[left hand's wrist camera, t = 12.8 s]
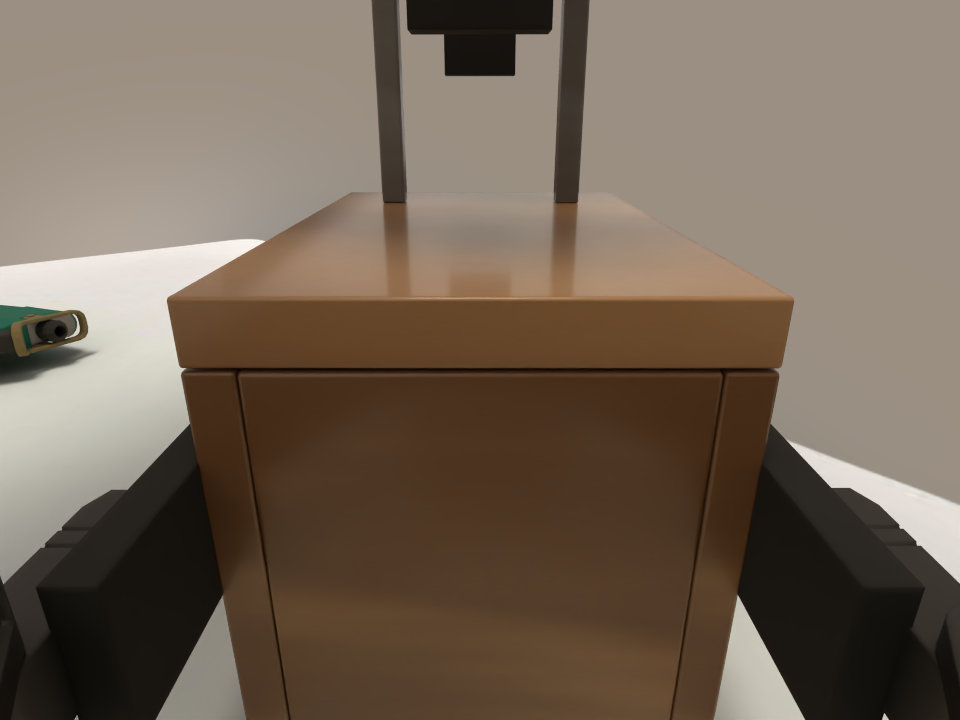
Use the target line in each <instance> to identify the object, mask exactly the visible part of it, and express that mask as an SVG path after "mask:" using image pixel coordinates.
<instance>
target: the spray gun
mask: <svg viewBox="0 0 960 720" xmlns="http://www.w3.org/2000/svg"><path fill="white" fill-rule="evenodd" d="M72 314H75V315H76V316H77V318H78V321H79V325H80V332H79V334H78V335H76V336H75V337H71V338H67V339H65V338H66V337H69V336H71V335H73V334H74V332H75V331H76V328H77V321H76V319H75V317H74V316H73V315H72ZM87 333H88V325H87V320H86V317H85V315H84V314H83V313H82V312H80V311H77V310H67V311H56V310H48V309H41V308H34V307H15V306H5V305H0V354H4V353H14V351H16V353H17V355H18V356H19V357H21V356H28V355H29V354H31V353H34V352H38V351H42V350H45V349H49V348H53V347H56V346H60V345H64V344H67V343H71V342H75V341H79V340H81V339H83V338H85V337H86V335H87ZM49 341H51V342H52V343H51V342H49Z"/></svg>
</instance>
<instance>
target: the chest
mask: <svg viewBox="0 0 960 720" xmlns="http://www.w3.org/2000/svg"><path fill="white" fill-rule="evenodd" d="M181 378H182V383H183V388H184V394H185V399H186V404H187V409H188V415H189V420H190V425H191V430H192V436H193V441H194V446H195V452H196V457H197V462H198V466H199V471H200V476H201V481H202V487H203V492H204V497H205V502H206V508H207V513H208V518H209V523H210V529H211V534H212V539H213V544H214V550H215V555H216V560H217V566H218V571H219V576H220V581H221V587H222V592H223V599H224V604H225V610H226V615H227V620H228V625H229V631H230V636H231V641H232V646H233V652H234V657H235V662H236V667H237V673H238V678H239V683H240V689H241V694H242V699H243V704H244V710H245V715H246V720H714V716H715V711H716V706H717V700H718V695H719V690H720V685H721V680H722V674H723V669H724V664H725V659H726V653H727V648H728V643H729V638H730V632H731V627H732V622H733V617H734V611H735V606H736V601H737V596H738V590H739V585H740V579H741V574H742V569H743V564H744V558H745V553H746V548H747V543H748V537H749V532H750V527H751V522H752V516H753V511H754V506H755V501H756V495H757V490H758V485H759V480H760V474H761V469H762V464H763V460H764V455H765V449H766V444H767V439H768V434H769V428H770V423H771V418H772V412H773V407H774V402H775V397H776V392H777V386H778V381H779V373H778V372H777V371H776V370H775V369H774V368H186V369H185V370H184V371H183V372H182V374H181Z"/></svg>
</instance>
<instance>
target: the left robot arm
mask: <svg viewBox="0 0 960 720" xmlns="http://www.w3.org/2000/svg"><path fill="white" fill-rule="evenodd" d="M222 595H223V592H222V587H221V581H220V576H219V571H218V566H217V560H216V555H215V550H214V544H213V539H212V534H211V529H210V523H209V518H208V513H207V508H206V502H205V497H204V492H203V487H202V481H201V476H200V471H199V466H198V462H197V457H196V452H195V446H194V441H193V436H192V430H191V425H190V424H189V426H188V427H187V428H186V429H185V430H184V431H183V432H182V433H181V434H180V435H179V436H178V437H177V438H176V439H175V440H174V441H173V442H172V444H171V445H170V446H169V447H168V448H167V449H166V450H165V451H164V452H163V453H162V454H161V455H160V456H159V457H158V458H157V459H156V460H155V462H154V463H153V464H152V465H151V466H150V467H149V468H148V469H147V470H146V471H145V472H144V473H143V474H142V475H141V476H140V477H139V478H138V480H137V481H136V482H135V483H134V484H133V485H132V486H131V487H130V488H129V489H128V490H111V491H109V492H107V493H105V494H104V495H102V496H100V497H99V498H97V499H95V500H94V501H92V502H90V503H88V504H87V505H85V506H83V507H82V508H81V509H80V510H79V511H78V512H77V513H76V514H75V515H74V516H73V517H72V518H71V519H70V520H69V521H68V522H67V523H66V524H65V525H64V526H63V527H62V531H58V532H57V533H55V534H54V535H53V536H52V537H51V538H50V539H49V540H48V541H47V542H46V543H45V548H40V549H39V550H38V551H37V552H36V553H35V554H34V555H33V556H32V557H31V558H30V559H29V560H28V561H27V562H26V563H25V564H24V565H23V566H22V567H21V568H20V569H19V570H18V571H17V572H16V573H15V574H14V575H13V576H12V577H11V578H10V579H9V580H8V581H7V582H6V583H5V584H3V583H2V580H1V577H0V720H74V719H75V717H76V716H77V715H78V718H79V720H156V718H157V716H158V714H159V712H160V710H161V708H162V707H163V705H164V703H165V701H166V699H167V697H168V695H169V694H170V692H171V690H172V688H173V686H174V684H175V682H176V681H177V679H178V677H179V675H180V673H181V671H182V669H183V668H184V666H185V664H186V662H187V660H188V658H189V656H190V655H191V653H192V651H193V649H194V647H195V645H196V643H197V642H198V640H199V638H200V636H201V634H202V632H203V630H204V629H205V627H206V625H207V623H208V621H209V619H210V617H211V616H212V614H213V612H214V610H215V608H216V606H217V604H218V603H219V601H220V599H221V597H222ZM738 596H739V598H740V599H741V601H742V603H743V605H744V607H745V609H746V611H747V612H748V614H749V616H750V618H751V620H752V622H753V624H754V625H755V627H756V629H757V631H758V633H759V635H760V637H761V638H762V640H763V642H764V644H765V646H766V648H767V650H768V651H769V653H770V655H771V657H772V659H773V661H774V663H775V664H776V666H777V668H778V670H779V672H780V674H781V676H782V677H783V679H784V681H785V683H786V685H787V687H788V689H789V690H790V692H791V694H792V696H793V698H794V700H795V702H796V703H797V705H798V707H799V709H800V711H801V713H802V715H803V716H804V718H805V720H882V718H883V715H884V713H885V714H886V716H887V717H888V719H889V720H960V584H959V583H958V582H957V581H956V580H955V579H954V578H953V577H952V576H951V575H950V574H949V573H948V572H947V571H946V570H945V569H944V568H943V567H942V566H941V565H940V564H939V563H938V562H937V561H936V560H935V559H934V558H933V557H932V556H931V555H930V554H929V553H928V552H927V551H926V550H925V549H924V548H922V547H921V546H917V544H916V541H915V540H914V539H913V538H912V537H911V536H910V535H909V534H908V533H907V532H906V531H905V530H904V529H900V528H899V524H898V523H897V522H896V521H895V520H894V519H893V518H892V517H891V516H890V515H889V514H888V513H887V512H886V511H884V510H883V509H882V508H881V507H880V506H879V505H878V504H876V503H875V502H873V501H871V500H869V499H868V498H866V497H864V496H863V495H861V494H859V493H857V492H856V491H854V490H852V489H851V488H831V487H830V486H829V485H828V484H827V483H826V482H825V481H824V480H823V479H822V478H821V477H820V476H819V474H818V473H817V472H816V471H815V470H814V469H813V468H812V467H811V466H810V465H809V464H808V463H807V462H806V461H805V460H804V459H803V458H802V457H801V455H800V454H799V453H798V452H797V451H796V450H795V449H794V448H793V447H792V446H791V445H790V444H789V443H788V442H787V441H786V440H785V439H784V437H783V436H782V435H781V434H780V433H779V432H778V431H777V430H776V429H775V428H774V427H773V426H772V425H771V424H770V428H769V434H768V439H767V444H766V449H765V455H764V460H763V464H762V469H761V474H760V480H759V485H758V490H757V495H756V501H755V506H754V511H753V516H752V522H751V527H750V532H749V537H748V543H747V548H746V553H745V558H744V564H743V569H742V574H741V579H740V585H739V590H738Z"/></svg>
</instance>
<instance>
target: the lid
mask: <svg viewBox="0 0 960 720" xmlns="http://www.w3.org/2000/svg"><path fill="white" fill-rule="evenodd" d="M372 15H373V34H374V51H375V70H376V88H377V105H378V124H379V142H380V160H381V178H382V193H350V194H348V195H346V196H344V197H343V198H341V199H339V200H337V201H336V202H334V203H332V204H331V205H329V206H327V207H325V208H323V209H322V210H320V211H318V212H316V213H315V214H313V215H311V216H309V217H308V218H306V219H304V220H303V221H301V222H299V223H297V224H296V225H294V226H292V227H290V228H289V229H287V230H285V231H283V232H281V233H280V234H278V235H276V236H275V237H273V238H271V239H269V240H268V241H266V242H264V243H262V244H261V245H259V246H257V247H255V248H254V249H252V250H250V251H248V252H247V253H245V254H243V255H241V256H240V257H238V258H236V259H234V260H233V261H231V262H229V263H227V264H226V265H224V266H222V267H220V268H219V269H217V270H215V271H213V272H212V273H210V274H208V275H206V276H205V277H203V278H201V279H199V280H198V281H196V282H194V283H192V284H191V285H189V286H187V287H185V288H184V289H182V290H180V291H178V292H177V293H175V294H173V295H171V296H170V297H168V299H167V304H168V309H169V314H170V320H171V325H172V330H173V335H174V341H175V346H176V351H177V357H178V362H179V366H180V367H181V368H780V367H781V366H782V362H783V357H784V352H785V346H786V341H787V336H788V331H789V325H790V320H791V315H792V310H793V304H794V299H793V297H791V296H789V295H787V294H786V293H784V292H782V291H780V290H779V289H777V288H775V287H773V286H772V285H770V284H768V283H766V282H765V281H763V280H761V279H759V278H758V277H756V276H754V275H752V274H751V273H749V272H747V271H745V270H744V269H742V268H740V267H739V266H737V265H735V264H733V263H732V262H730V261H728V260H726V259H724V258H723V257H721V256H719V255H718V254H716V253H714V252H712V251H711V250H709V249H707V248H705V247H704V246H702V245H700V244H698V243H696V242H695V241H693V240H691V239H690V238H688V237H686V236H684V235H682V234H681V233H679V232H677V231H676V230H674V229H672V228H670V227H669V226H667V225H665V224H663V223H662V222H660V221H658V220H656V219H655V218H653V217H651V216H649V215H648V214H646V213H644V212H642V211H641V210H639V209H637V208H635V207H634V206H632V205H630V204H628V203H627V202H625V201H623V200H621V199H620V198H618V197H616V196H614V195H613V194H611V193H579V176H580V159H581V141H582V123H583V106H584V88H585V70H586V53H587V35H588V17H589V0H562V12H561V36H560V60H559V83H558V107H557V130H556V154H555V178H554V193H407V186H406V162H405V137H404V113H403V89H402V65H401V40H400V16H399V0H372Z"/></svg>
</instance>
